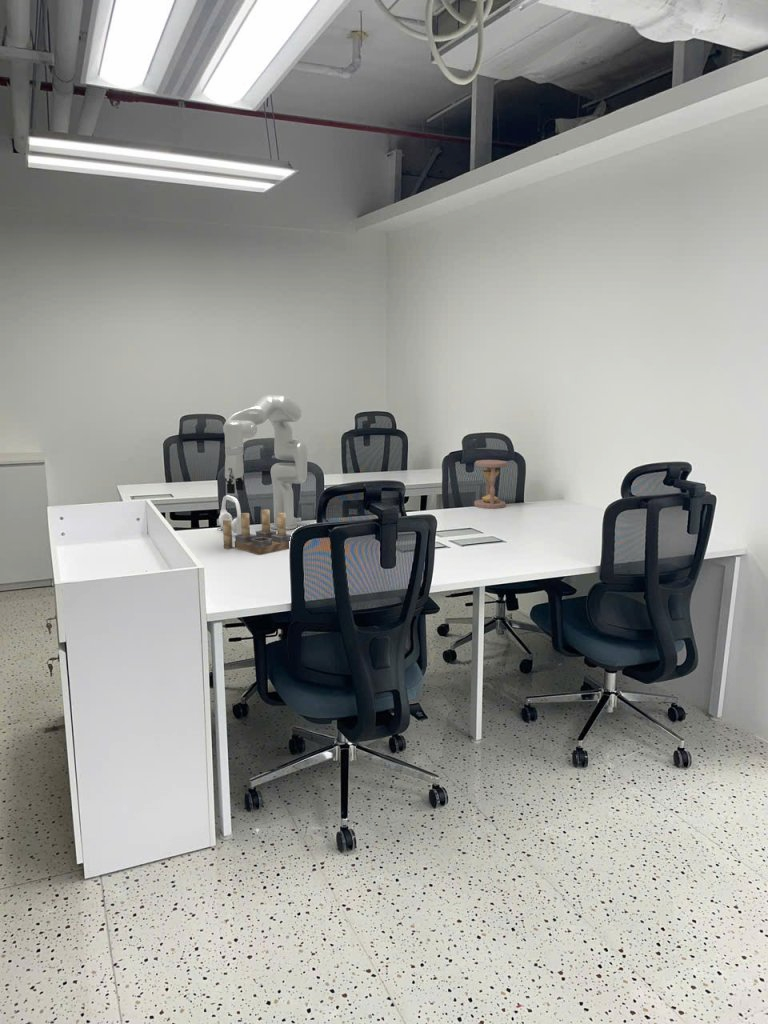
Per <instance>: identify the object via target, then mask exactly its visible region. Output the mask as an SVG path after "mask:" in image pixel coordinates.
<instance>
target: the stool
mask: <svg viewBox="0 0 768 1024" xmlns="http://www.w3.org/2000/svg"><path fill="white" fill-rule="evenodd" d="M260 511H261V529H260V530H256V531H255V534H253V533H251V532H250V531H251V530H250V529H251V528H250V524H251V522H250V513H249V512H241V534H240V535H236V534H235V535H234V536H235V537H234V538H235V540H234V542H233V543H234V549H237V550H241V551H245V552H248V553H252V554H255V555H259V556H261V555H266V554H270V553H275V552H280V551H284V550H287V549H290V548H289V541H290V537H291V535H292V534H288V533H287V530H286V513H277V530H274V529H271V515H270V513H271V510H270V509H261V510H260Z"/></svg>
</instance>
